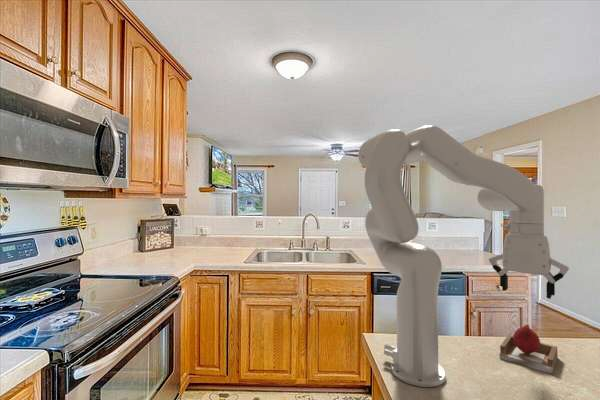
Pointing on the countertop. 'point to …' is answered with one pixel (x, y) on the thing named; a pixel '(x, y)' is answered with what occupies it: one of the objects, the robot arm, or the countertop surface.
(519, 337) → the onion
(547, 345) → the tray
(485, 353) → the countertop surface
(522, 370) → the countertop surface
